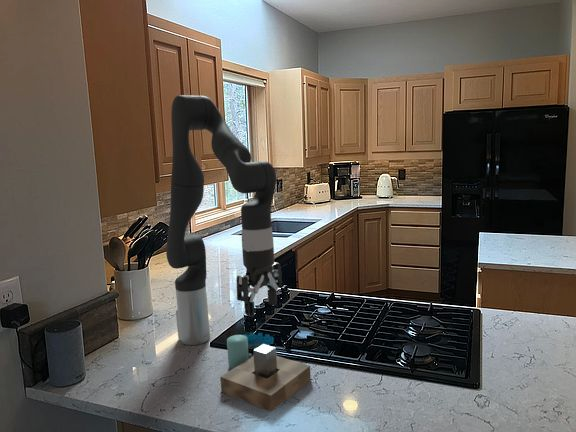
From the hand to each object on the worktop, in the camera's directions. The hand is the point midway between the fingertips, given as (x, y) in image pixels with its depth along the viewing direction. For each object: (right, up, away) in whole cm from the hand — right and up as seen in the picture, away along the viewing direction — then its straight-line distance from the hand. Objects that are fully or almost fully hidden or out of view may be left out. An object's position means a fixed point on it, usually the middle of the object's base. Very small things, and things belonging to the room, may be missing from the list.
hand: (261, 310), depth 115 cm
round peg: (-7, -18, +14) cm, 24 cm away
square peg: (+1, -20, +3) cm, 20 cm away
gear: (-3, -17, +22) cm, 28 cm away
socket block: (+1, -20, +3) cm, 20 cm away
